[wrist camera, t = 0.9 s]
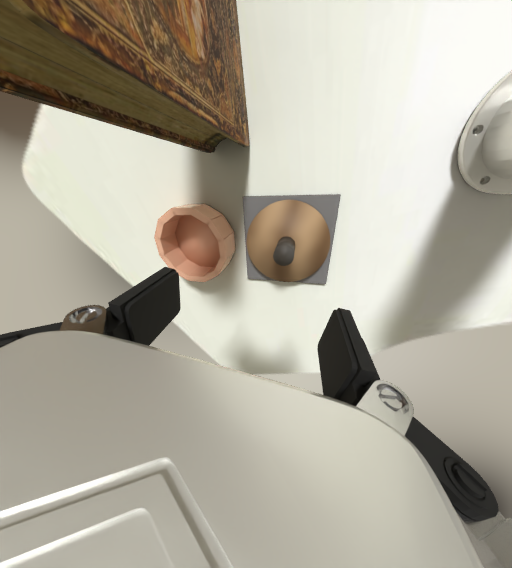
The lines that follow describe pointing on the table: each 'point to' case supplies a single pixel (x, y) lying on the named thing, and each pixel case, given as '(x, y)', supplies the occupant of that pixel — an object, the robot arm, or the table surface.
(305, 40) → the table surface
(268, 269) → the lid
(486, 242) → the table surface
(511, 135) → the robot arm
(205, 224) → the bowl
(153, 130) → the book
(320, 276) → the mat
